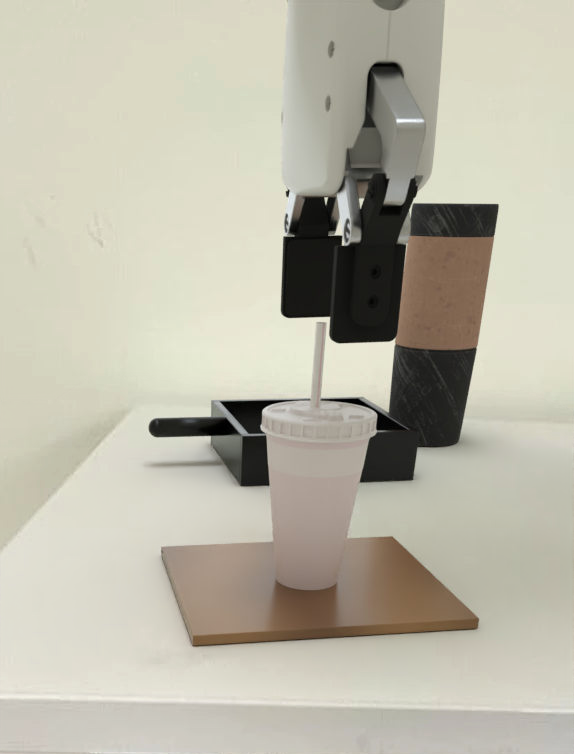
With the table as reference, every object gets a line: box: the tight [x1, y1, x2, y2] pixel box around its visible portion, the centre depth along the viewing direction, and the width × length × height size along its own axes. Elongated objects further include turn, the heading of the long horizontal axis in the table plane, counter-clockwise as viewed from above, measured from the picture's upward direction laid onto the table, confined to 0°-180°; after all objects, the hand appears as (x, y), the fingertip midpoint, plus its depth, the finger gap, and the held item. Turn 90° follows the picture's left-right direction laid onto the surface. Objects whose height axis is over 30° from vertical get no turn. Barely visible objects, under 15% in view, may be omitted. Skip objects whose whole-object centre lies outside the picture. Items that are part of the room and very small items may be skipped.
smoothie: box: [261, 321, 377, 590], centre depth 49 cm, size 6×6×14 cm
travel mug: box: [388, 202, 500, 448], centre depth 81 cm, size 8×8×20 cm
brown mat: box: [160, 535, 480, 647], centre depth 53 cm, size 16×14×1 cm
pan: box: [147, 396, 420, 487], centre depth 77 cm, size 22×15×4 cm
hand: (333, 328), depth 45 cm, fingers open, 9 cm apart
